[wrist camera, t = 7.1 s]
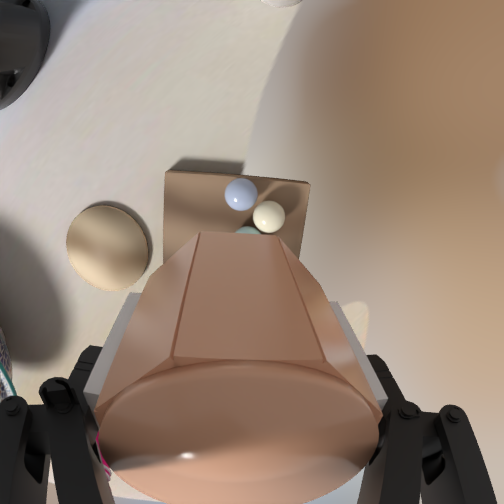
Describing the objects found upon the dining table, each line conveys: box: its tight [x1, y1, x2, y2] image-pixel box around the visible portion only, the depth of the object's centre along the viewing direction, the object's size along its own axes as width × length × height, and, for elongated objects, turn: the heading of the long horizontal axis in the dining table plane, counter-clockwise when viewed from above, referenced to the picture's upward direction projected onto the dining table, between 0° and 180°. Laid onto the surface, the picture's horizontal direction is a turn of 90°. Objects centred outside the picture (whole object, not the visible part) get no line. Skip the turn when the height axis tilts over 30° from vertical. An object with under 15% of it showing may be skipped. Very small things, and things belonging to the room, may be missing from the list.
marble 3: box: [253, 201, 285, 233], centre depth 30 cm, size 3×3×3 cm
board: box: [163, 170, 310, 264], centre depth 35 cm, size 20×14×2 cm
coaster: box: [66, 205, 148, 291], centre depth 33 cm, size 10×10×1 cm
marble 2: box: [235, 226, 261, 234], centre depth 31 cm, size 3×3×3 cm
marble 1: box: [225, 178, 258, 211], centre depth 29 cm, size 3×3×3 cm
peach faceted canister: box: [94, 231, 383, 504], centre depth 12 cm, size 8×8×9 cm
